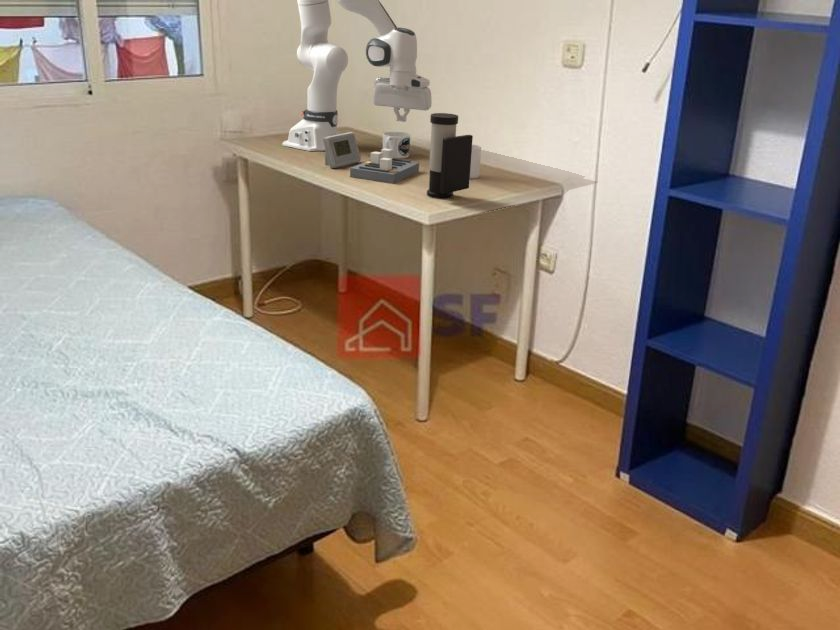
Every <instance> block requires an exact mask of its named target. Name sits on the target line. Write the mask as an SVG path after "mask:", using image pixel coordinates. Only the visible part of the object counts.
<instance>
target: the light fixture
mask: <svg viewBox="0 0 840 630" xmlns="http://www.w3.org/2000/svg"><path fill="white" fill-rule="evenodd" d="M429 122H430V123H431V124H430V126H431V128H430V130H431V131H430V145H429V146H430V147H429V165H428V169H429V186H428V190H426V196H427V197H430V198H433V199H451V198H452V197H453V196H454V193H456V192H460V191H464V190H468V189H470V180H471V179H470V166H471V153H472V145H473V138H474V136H473V135H472V134H463V135H457V125H458V123H459V115H457V114H454V113H446V112H435V113H431V114H430V120H429Z"/></svg>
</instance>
